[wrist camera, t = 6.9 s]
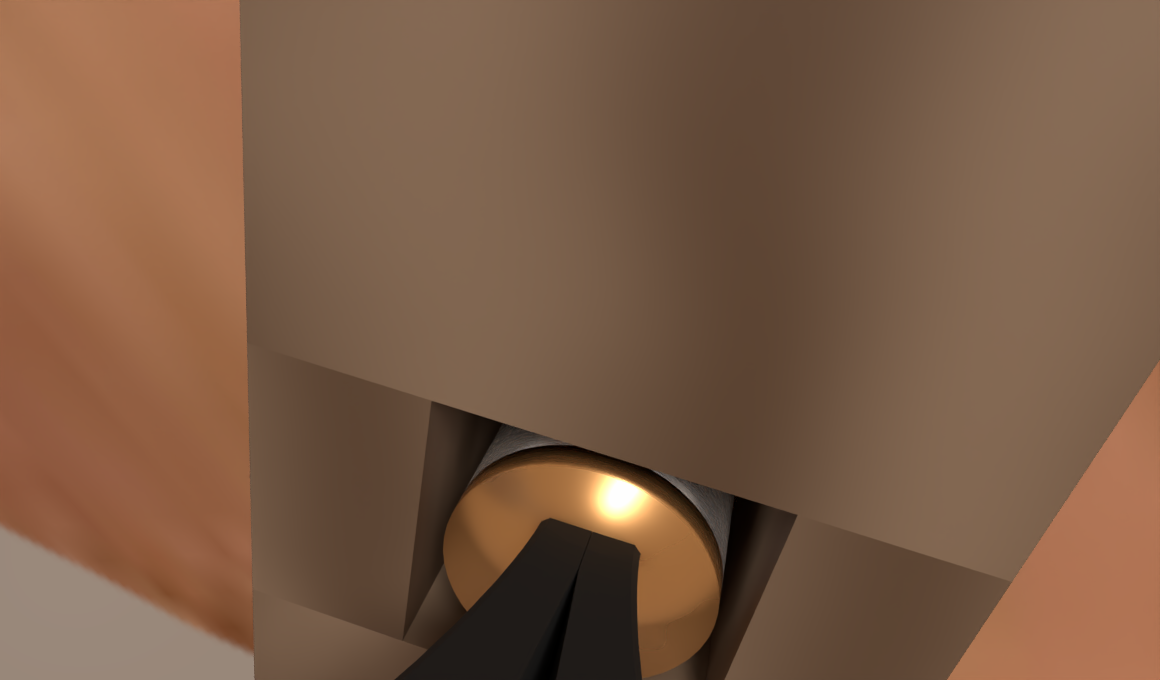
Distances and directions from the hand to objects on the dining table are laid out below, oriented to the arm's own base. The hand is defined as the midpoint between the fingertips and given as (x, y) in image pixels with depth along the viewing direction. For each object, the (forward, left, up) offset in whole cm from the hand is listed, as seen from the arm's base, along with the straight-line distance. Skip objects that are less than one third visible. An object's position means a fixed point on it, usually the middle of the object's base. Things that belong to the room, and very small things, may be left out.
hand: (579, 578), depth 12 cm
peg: (0, 0, -4) cm, 4 cm away
